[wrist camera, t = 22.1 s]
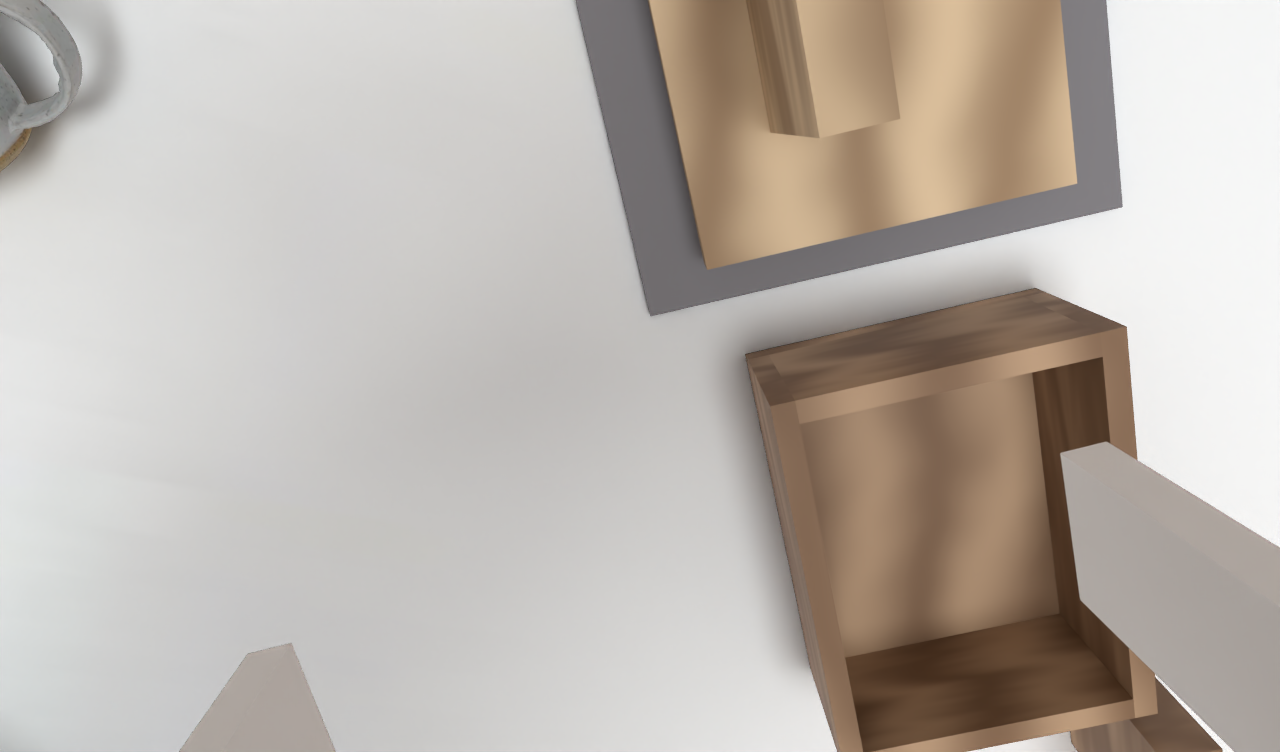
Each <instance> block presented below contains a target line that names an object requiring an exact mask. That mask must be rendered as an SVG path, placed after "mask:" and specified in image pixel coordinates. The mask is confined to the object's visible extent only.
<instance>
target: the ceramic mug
mask: <svg viewBox="0 0 1280 752" xmlns="http://www.w3.org/2000/svg"><path fill="white" fill-rule="evenodd" d="M0 12H2V13H4V14H5V15H7V16H8V17H10V18H12V19H15V20H17V21H19V22H20V23H22V24H23V25H25V26H26V27H28V28H29V29H31V30H32V31H34V32H35V33H36V34H37V35H39V36H40V38H41V39H42V40H43V41H44V42H45V43H46V45H47V47H48V48H49V49H50V50H51V53H52V54H53V62H54V66H55V68H56V70H57V72H58V74H59V75H60V80H59V83H58V85H59V90H60V92H58V93H56V94H55V95H54V96H53V97H50V98H47V99H45V100H42V101H40V102H35V103H31V104H27V103H26V101H25V99H24V97H23V96H22V94H21V92H20V90H19V88H18V87H17V85H16V84H15V82H14V81H13V79H12V78H11V76H10V75H9V74H8V72H7V71H6V70H5V68H4V67H3V66H2V65H1V63H0V172H1V171H2V170H3V169H4V168H6V167H7V166H8V165H9V164H10V163H11V162H12V161H13V160H14V159H16V158H17V156H18V155H19V154H20V152H21V151H22V150H23V148H24V147H25V145H26V143H27V141H28V139H29V137H30V134H31V131H32V127H37V126H41V125H43V124H45V123H47V122H50V121H52V120H54V119H55V118H56V117H57V116H59V115H60V114H61V113H62V112H63V111H64V110H65V109H66V108H67V107H68V106H69V105H70V103H71V102H72V100H73V99H74V97H75V95H76V93H77V91H78V89H79V86H80V84H81V80H82V63H81V58H80V54H79V51H78V48H77V46H76V43H75V41H74V40H73V38H72V36H71V35H70V33H69V31H68V30H67V29H66V27H65V26H64V25H63V23H62V22H61V20H60V19H59V18H58V17H57V16H56V15H55V14H54V13H53V12H52V11H51V10H50V9H49V8H48V7H47V6H46V5H45V4H44V3H42V2H41V1H40V0H0Z"/></svg>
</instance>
